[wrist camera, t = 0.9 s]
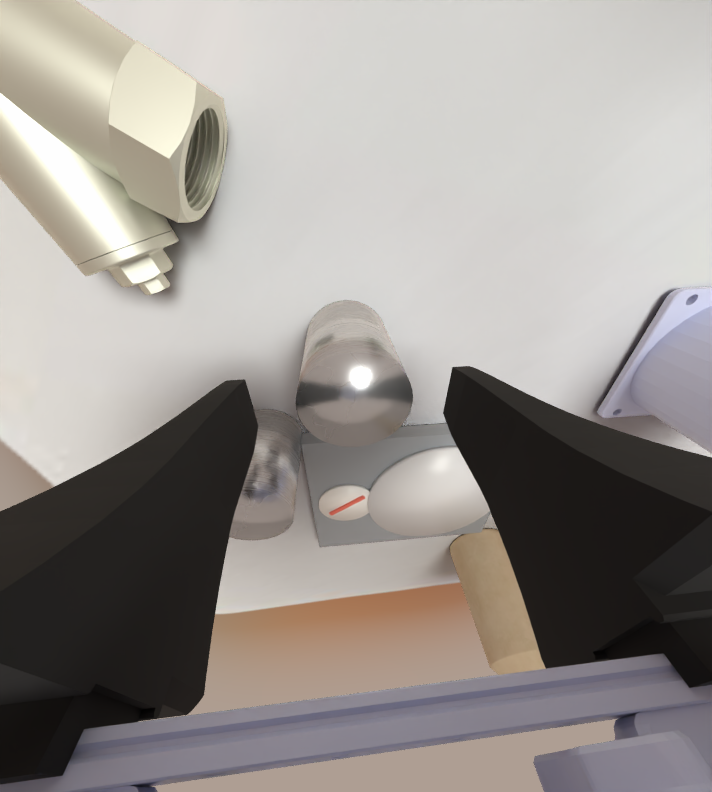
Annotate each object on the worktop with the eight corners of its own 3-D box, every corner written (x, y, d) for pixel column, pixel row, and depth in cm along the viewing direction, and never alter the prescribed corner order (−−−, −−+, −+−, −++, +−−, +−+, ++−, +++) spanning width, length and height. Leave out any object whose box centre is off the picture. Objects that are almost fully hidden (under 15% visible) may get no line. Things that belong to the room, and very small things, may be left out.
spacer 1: (297, 407, 16) (286, 485, 12) (306, 455, 18) (298, 536, 14) (227, 411, 16) (187, 493, 11) (244, 459, 18) (217, 543, 14)
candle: (464, 562, 29) (517, 700, 21) (438, 544, 27) (486, 694, 19) (513, 541, 28) (591, 683, 20) (490, 520, 25) (569, 674, 17)
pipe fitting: (200, 291, 13) (237, 107, 9) (156, 328, 10) (186, 75, 6) (-33, 185, 10) (-109, -131, 6) (-195, 190, 7) (-504, -397, 3)
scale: (518, 418, 18) (531, 432, 17) (476, 521, 25) (483, 536, 24) (302, 433, 17) (300, 449, 16) (320, 535, 24) (319, 552, 23)
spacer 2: (387, 298, 13) (418, 349, 8) (384, 372, 15) (407, 443, 11) (301, 301, 13) (286, 355, 8) (311, 376, 15) (303, 450, 11)
